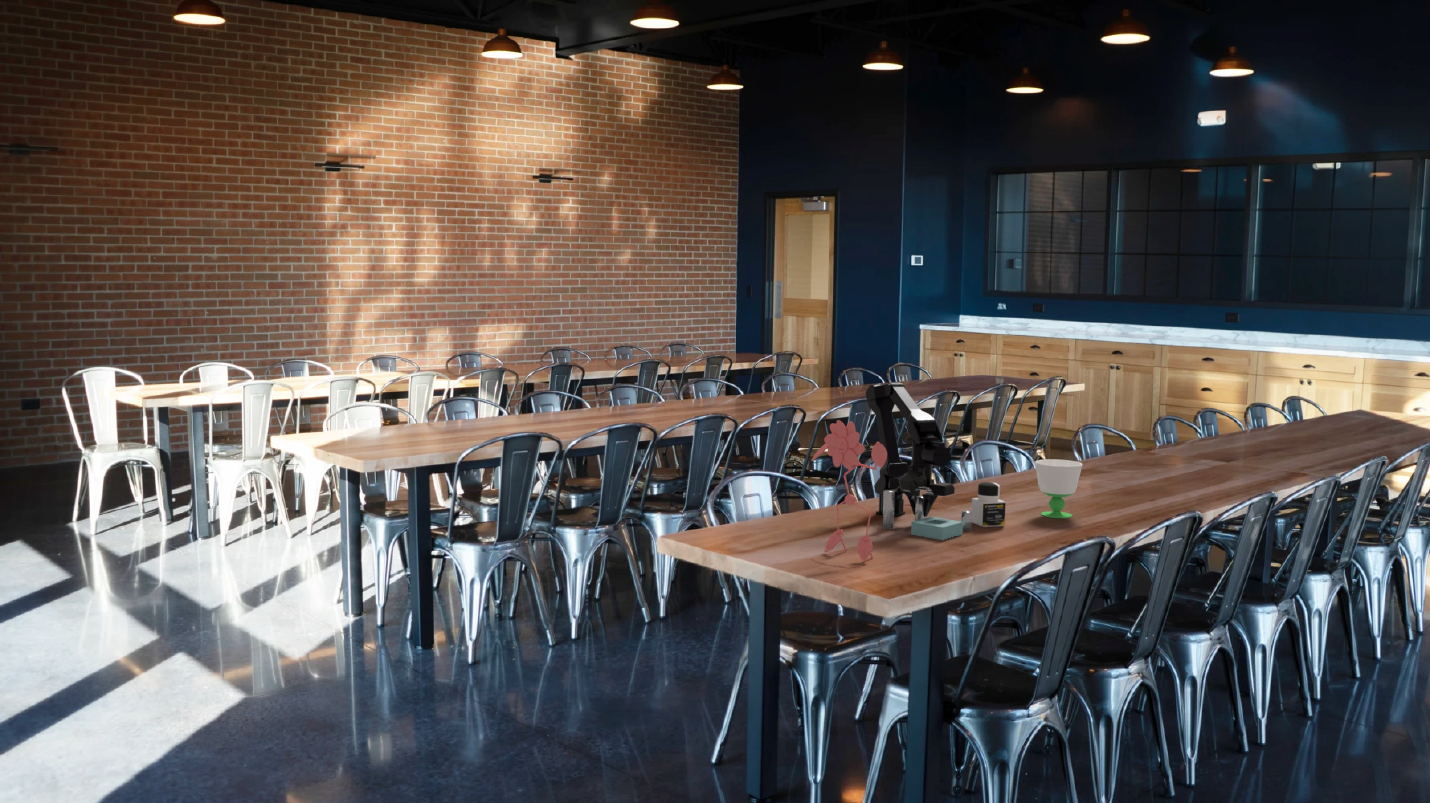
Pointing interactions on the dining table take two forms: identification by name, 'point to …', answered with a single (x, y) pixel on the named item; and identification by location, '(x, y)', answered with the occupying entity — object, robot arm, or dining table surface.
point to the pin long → (888, 509)
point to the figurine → (845, 450)
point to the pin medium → (919, 508)
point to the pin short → (966, 519)
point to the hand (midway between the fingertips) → (920, 515)
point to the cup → (1057, 483)
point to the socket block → (936, 528)
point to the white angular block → (988, 506)
